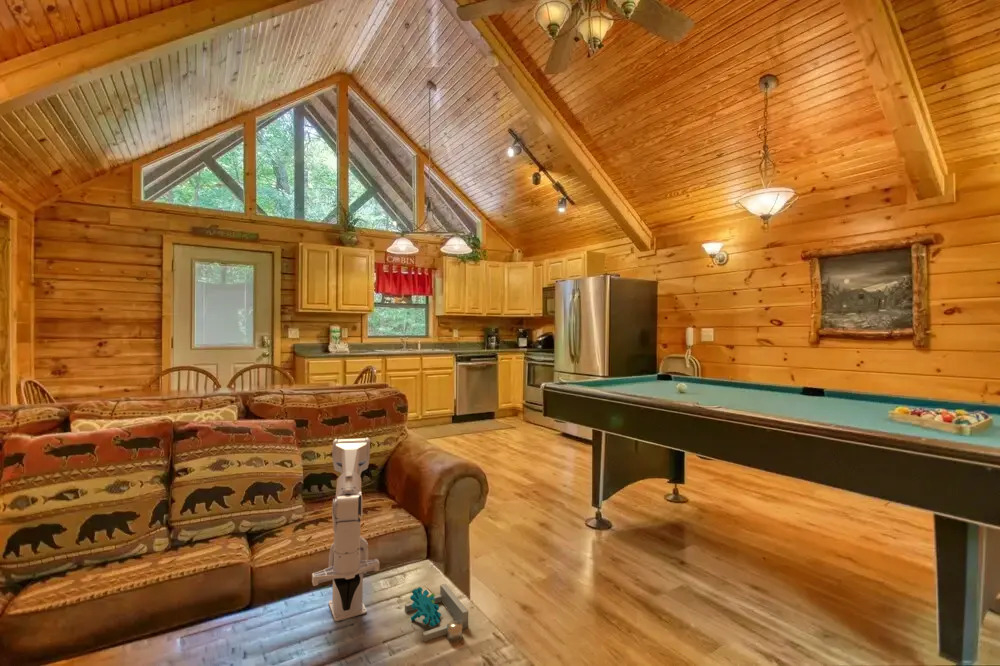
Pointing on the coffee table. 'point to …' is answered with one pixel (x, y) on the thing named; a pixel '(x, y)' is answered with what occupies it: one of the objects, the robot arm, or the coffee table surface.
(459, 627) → the bushing
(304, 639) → the coffee table surface
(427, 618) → the gear
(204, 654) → the coffee table surface
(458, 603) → the cradle
